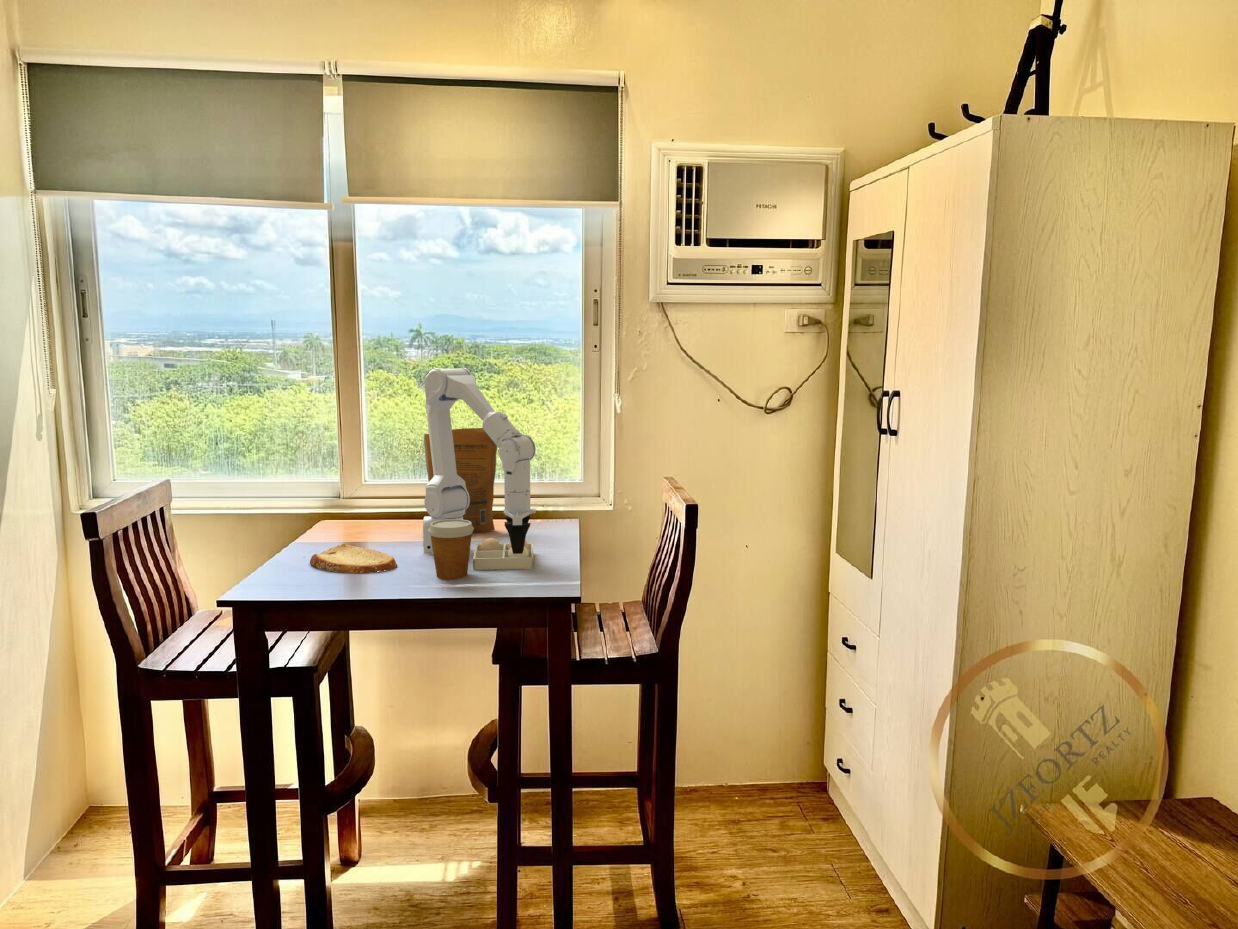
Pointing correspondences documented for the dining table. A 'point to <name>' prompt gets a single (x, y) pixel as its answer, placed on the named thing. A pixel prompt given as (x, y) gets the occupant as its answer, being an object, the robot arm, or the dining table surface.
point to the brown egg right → (524, 545)
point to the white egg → (524, 554)
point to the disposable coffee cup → (451, 547)
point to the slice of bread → (353, 560)
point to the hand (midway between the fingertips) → (517, 550)
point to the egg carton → (501, 559)
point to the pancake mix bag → (473, 473)
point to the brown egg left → (490, 545)
